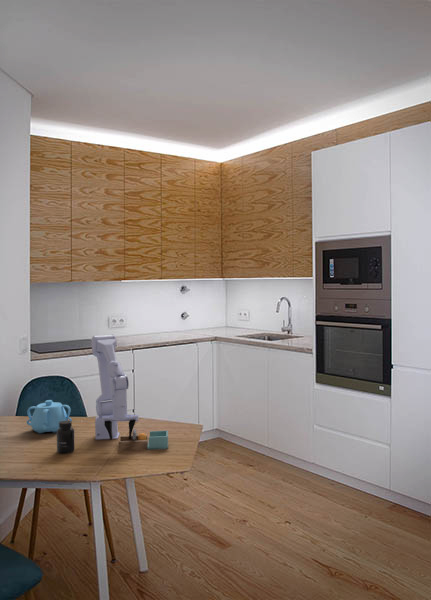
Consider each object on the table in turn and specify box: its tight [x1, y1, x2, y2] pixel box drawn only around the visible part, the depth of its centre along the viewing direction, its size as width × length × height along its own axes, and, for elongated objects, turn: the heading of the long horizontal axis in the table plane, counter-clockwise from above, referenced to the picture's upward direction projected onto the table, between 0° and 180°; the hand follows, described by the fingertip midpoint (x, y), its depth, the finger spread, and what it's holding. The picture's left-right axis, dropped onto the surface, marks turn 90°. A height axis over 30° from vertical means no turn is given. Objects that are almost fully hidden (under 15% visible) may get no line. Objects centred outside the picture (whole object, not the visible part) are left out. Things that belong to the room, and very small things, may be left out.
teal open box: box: [147, 430, 169, 451], centre depth 211 cm, size 8×8×5 cm
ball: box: [138, 432, 148, 441], centre depth 211 cm, size 4×4×4 cm
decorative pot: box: [26, 399, 73, 434], centre depth 236 cm, size 16×16×14 cm
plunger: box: [132, 428, 138, 441], centre depth 211 cm, size 1×5×4 cm, turn 4°
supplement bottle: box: [56, 419, 75, 455], centre depth 206 cm, size 7×7×12 cm
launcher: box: [117, 434, 149, 452], centre depth 211 cm, size 11×8×4 cm
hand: (120, 438), depth 210 cm, fingers open, 7 cm apart
